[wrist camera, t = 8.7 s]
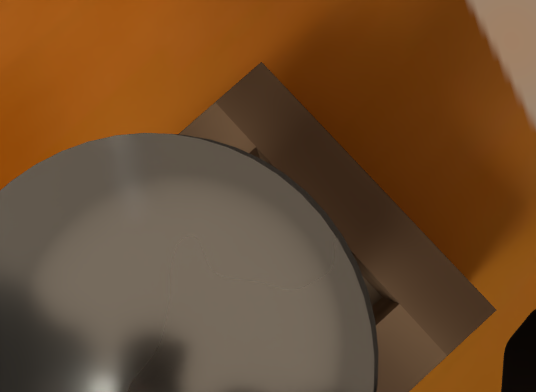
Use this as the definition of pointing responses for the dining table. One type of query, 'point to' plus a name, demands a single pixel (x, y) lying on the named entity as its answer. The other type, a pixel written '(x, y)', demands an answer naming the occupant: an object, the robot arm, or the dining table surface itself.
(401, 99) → the dining table surface
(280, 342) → the silver metal can
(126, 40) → the dining table surface
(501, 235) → the dining table surface
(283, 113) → the socket block
